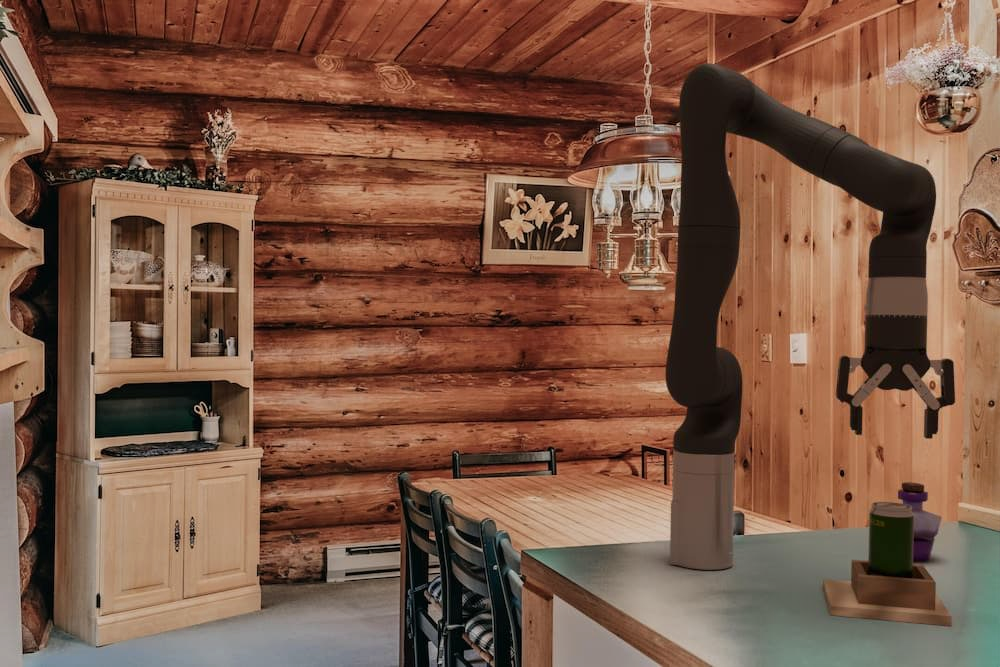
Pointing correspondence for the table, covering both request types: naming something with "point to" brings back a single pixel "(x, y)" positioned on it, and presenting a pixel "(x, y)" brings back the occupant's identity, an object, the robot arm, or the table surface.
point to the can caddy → (886, 597)
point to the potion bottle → (920, 520)
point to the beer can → (891, 540)
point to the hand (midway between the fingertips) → (893, 436)
